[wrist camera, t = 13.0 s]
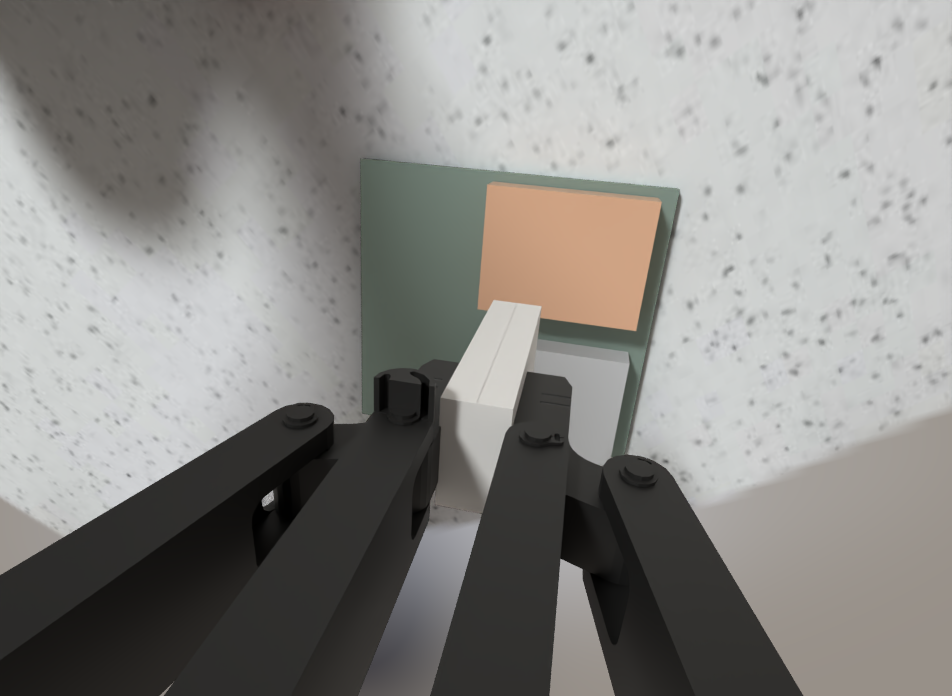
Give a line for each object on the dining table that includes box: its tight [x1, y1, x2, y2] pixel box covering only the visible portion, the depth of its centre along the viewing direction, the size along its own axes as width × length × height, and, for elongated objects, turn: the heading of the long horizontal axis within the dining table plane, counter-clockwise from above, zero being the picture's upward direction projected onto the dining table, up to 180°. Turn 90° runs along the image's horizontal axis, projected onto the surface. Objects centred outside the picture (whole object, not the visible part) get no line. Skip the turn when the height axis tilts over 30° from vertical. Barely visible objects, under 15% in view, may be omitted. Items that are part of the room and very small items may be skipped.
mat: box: [360, 158, 680, 457], centre depth 34 cm, size 18×17×1 cm
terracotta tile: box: [478, 181, 662, 331], centre depth 31 cm, size 2×7×9 cm
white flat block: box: [533, 339, 629, 466], centre depth 34 cm, size 2×7×9 cm
